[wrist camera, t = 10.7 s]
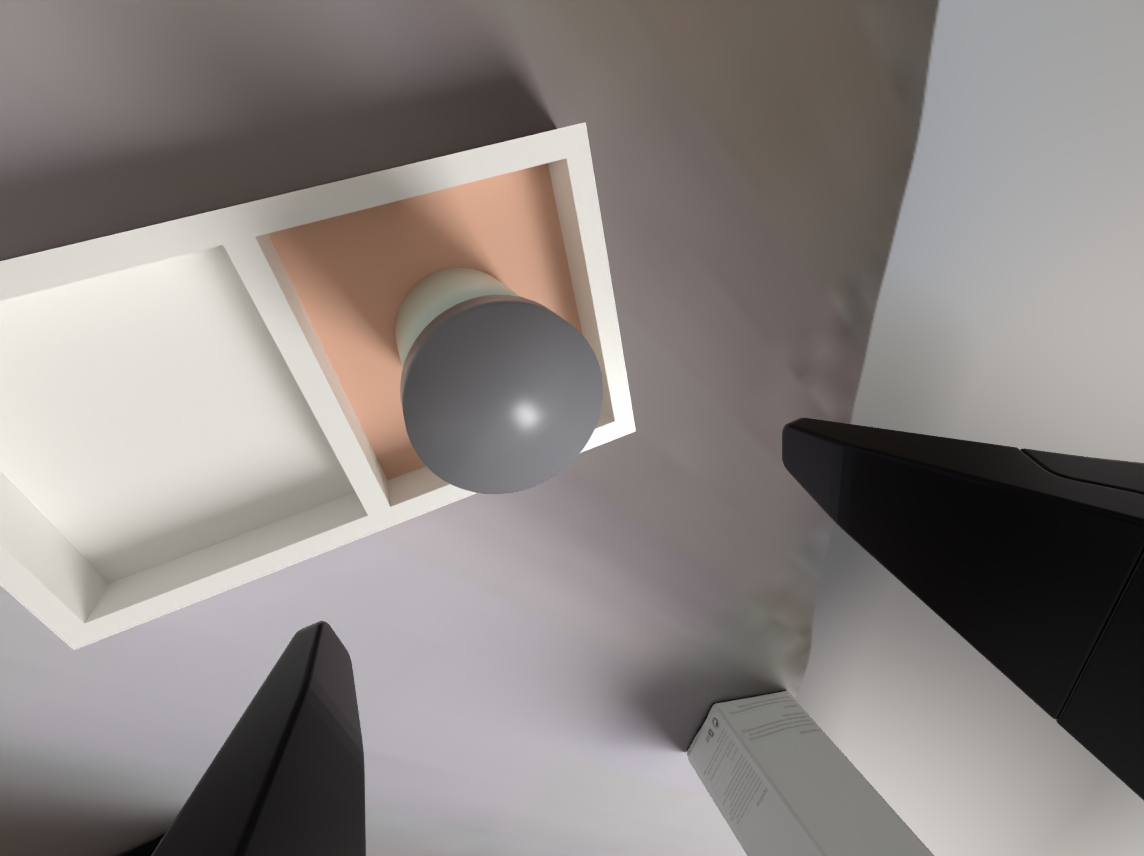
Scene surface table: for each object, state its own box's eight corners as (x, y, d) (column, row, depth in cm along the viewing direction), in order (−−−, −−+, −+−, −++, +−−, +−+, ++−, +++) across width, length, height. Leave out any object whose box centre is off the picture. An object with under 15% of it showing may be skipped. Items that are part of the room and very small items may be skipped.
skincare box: (683, 753, 38) (838, 1030, 26) (713, 696, 36) (897, 965, 24) (762, 738, 42) (932, 974, 30) (794, 685, 40) (989, 914, 28)
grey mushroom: (419, 415, 19) (445, 521, 13) (364, 285, 16) (367, 345, 11) (541, 372, 20) (616, 453, 14) (508, 243, 18) (583, 277, 12)
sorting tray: (106, 596, 18) (73, 650, 16) (-183, 304, 13) (-289, 329, 11) (610, 407, 23) (635, 431, 21) (558, 128, 17) (585, 122, 15)
